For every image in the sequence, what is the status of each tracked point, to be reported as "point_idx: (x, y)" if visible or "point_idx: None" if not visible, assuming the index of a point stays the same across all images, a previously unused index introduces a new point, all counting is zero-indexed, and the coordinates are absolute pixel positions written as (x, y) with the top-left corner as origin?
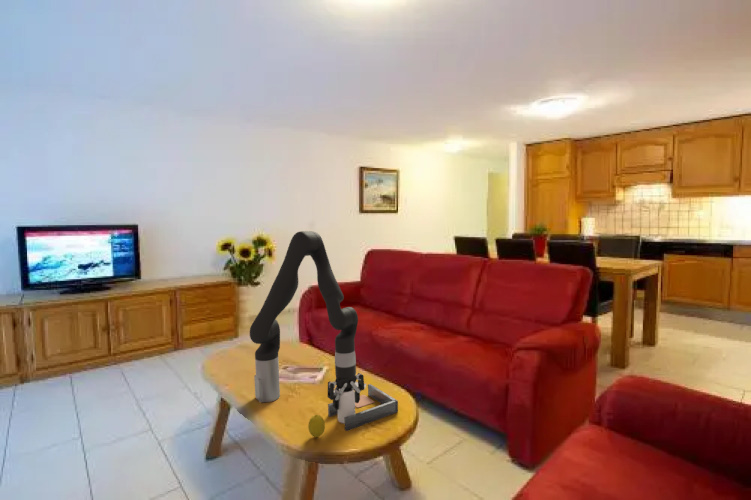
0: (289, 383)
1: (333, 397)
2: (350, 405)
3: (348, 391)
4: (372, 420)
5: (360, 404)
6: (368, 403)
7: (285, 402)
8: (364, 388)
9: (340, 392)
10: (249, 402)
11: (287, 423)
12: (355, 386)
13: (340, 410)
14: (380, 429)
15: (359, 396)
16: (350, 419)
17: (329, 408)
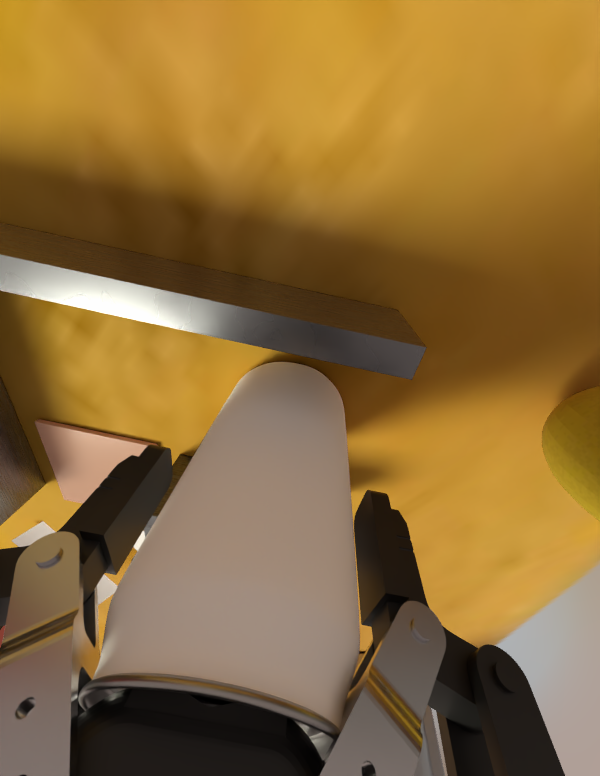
0: None
1: (484, 684)
2: (278, 451)
3: (246, 704)
4: (156, 258)
5: (125, 456)
6: (78, 433)
7: (365, 632)
8: (40, 525)
9: (394, 752)
10: None
11: (498, 567)
12: (11, 730)
13: (348, 472)
14: (169, 73)
15: (99, 491)
16: (371, 327)
17: None
